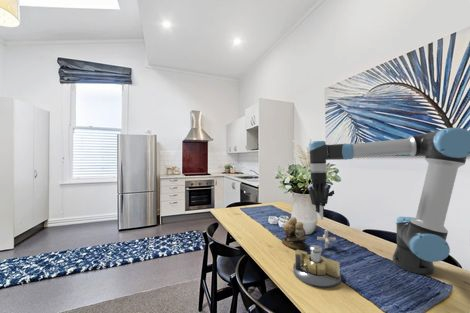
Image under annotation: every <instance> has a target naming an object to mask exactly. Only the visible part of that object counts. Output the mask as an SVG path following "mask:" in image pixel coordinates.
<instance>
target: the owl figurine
mask: <svg viewBox="0 0 470 313" xmlns="http://www.w3.org/2000/svg"><path fill="white" fill-rule="evenodd" d="M283 232H284V236H285V237H283V238H282V239H281V243H282V244H283V245H284V246H285V247H286V248H289V249H291V250H294V251H296V250H297V249H298V250H301V251H305V250H307V248H308V246H307V244H306V243H305V241H306V240H308V237H307V236H306V230H305V228H304V223H303V222H301V221H298V220H297V218H296V217H294V216H292V217H290V218H289V219H288V220H287V221H285V223H284V224H283Z"/></svg>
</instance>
